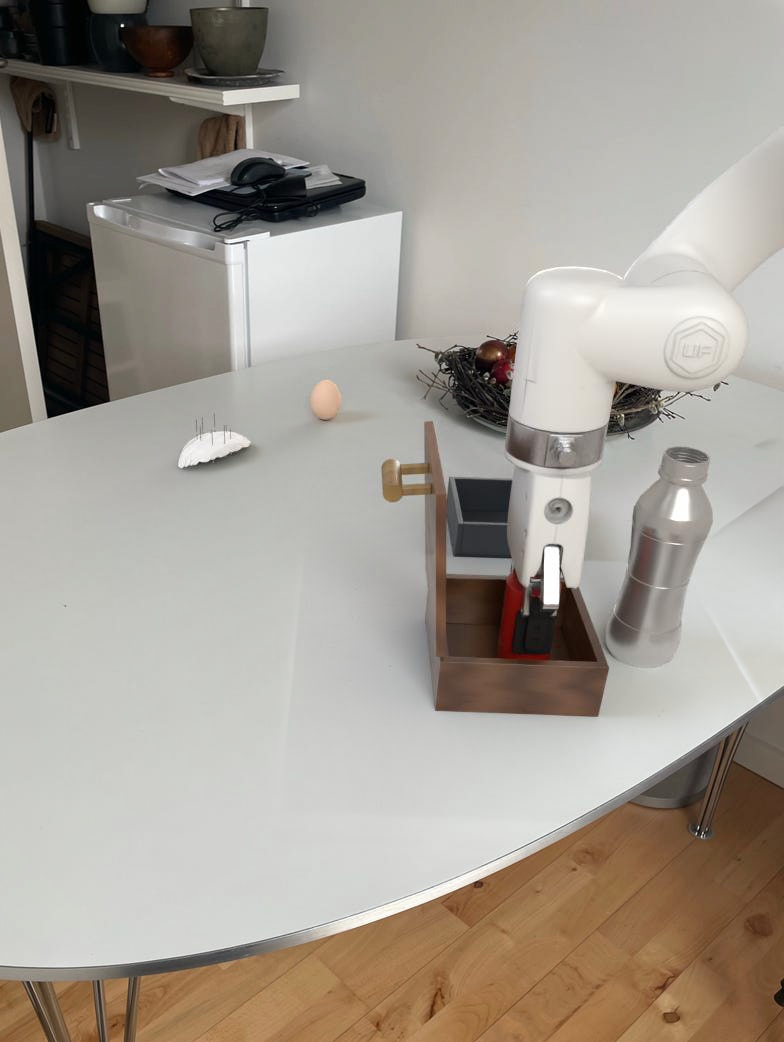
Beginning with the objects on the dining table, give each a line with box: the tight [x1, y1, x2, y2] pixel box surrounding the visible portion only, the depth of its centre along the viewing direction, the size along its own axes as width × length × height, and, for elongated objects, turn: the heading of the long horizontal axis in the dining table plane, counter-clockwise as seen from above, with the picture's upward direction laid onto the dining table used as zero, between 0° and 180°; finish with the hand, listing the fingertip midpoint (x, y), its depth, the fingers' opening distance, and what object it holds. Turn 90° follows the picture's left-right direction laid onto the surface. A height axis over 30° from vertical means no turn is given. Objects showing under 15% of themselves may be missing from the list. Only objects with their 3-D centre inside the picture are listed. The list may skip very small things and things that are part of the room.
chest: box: [424, 573, 610, 718], centre depth 86 cm, size 14×15×6 cm
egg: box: [309, 379, 342, 421], centre depth 138 cm, size 4×4×6 cm
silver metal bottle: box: [604, 445, 714, 669], centre depth 84 cm, size 6×7×20 cm
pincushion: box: [177, 413, 252, 469], centre depth 126 cm, size 12×6×6 cm, turn 135°
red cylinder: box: [497, 571, 561, 660], centre depth 85 cm, size 5×5×8 cm
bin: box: [446, 476, 513, 560], centre depth 108 cm, size 12×12×4 cm
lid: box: [380, 420, 448, 657], centre depth 81 cm, size 14×15×5 cm
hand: (526, 633), depth 85 cm, fingers closed on red cylinder, 4 cm apart
